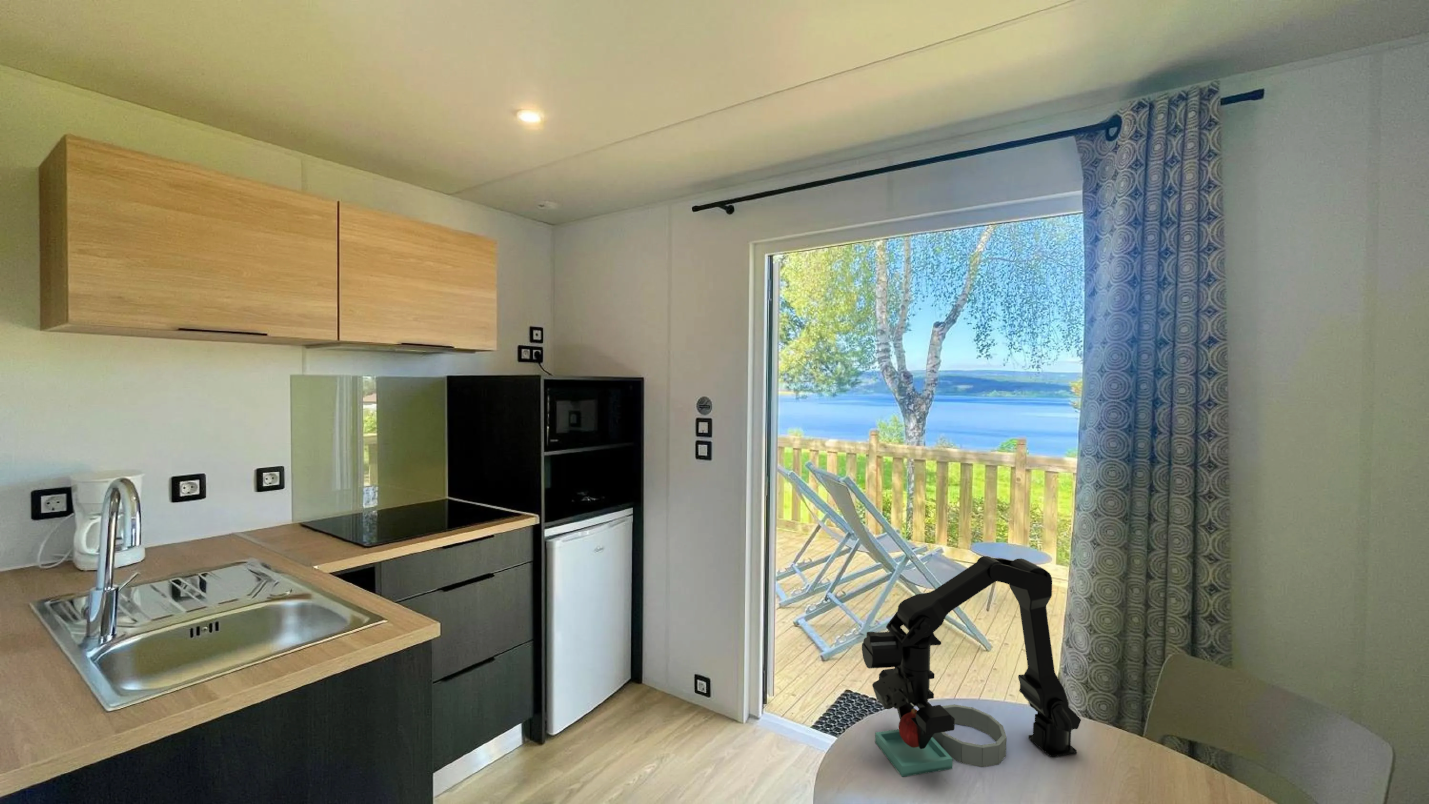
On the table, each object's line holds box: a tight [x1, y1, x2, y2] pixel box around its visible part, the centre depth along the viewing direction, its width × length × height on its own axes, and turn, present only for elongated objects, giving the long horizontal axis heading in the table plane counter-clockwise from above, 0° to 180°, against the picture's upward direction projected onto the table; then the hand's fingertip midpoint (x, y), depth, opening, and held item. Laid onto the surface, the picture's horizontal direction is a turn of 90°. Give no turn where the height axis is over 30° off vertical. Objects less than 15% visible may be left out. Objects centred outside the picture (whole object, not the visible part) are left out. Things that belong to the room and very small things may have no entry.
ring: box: [932, 704, 1008, 768], centre depth 119 cm, size 14×14×4 cm
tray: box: [874, 728, 954, 778], centre depth 116 cm, size 11×11×2 cm
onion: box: [898, 707, 919, 748], centre depth 115 cm, size 6×6×8 cm
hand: (913, 738), depth 116 cm, fingers closed on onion, 6 cm apart
